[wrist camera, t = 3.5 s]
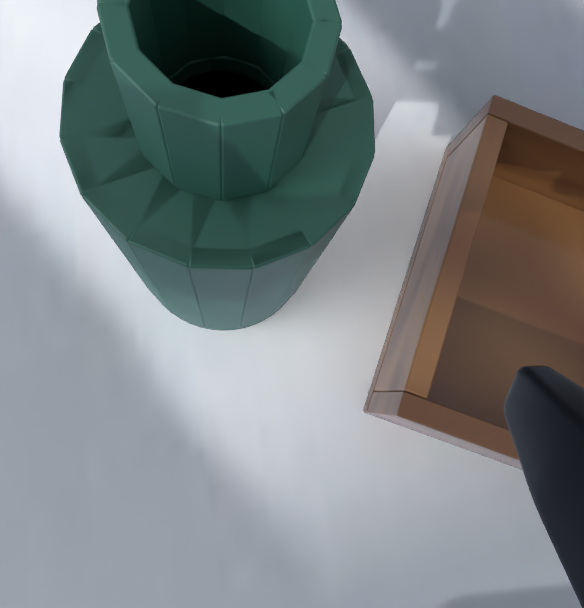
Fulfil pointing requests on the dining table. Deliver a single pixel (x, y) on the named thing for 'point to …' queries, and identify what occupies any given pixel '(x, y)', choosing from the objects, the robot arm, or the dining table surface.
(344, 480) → the dining table surface
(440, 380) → the crate
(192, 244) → the bottle
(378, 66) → the dining table surface
